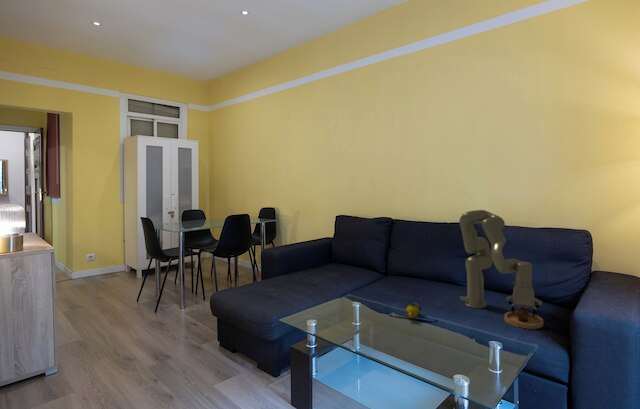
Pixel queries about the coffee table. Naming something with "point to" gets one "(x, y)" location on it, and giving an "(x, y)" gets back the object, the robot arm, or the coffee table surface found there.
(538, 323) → the round tray
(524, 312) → the walnut bead
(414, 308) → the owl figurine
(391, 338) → the coffee table surface
